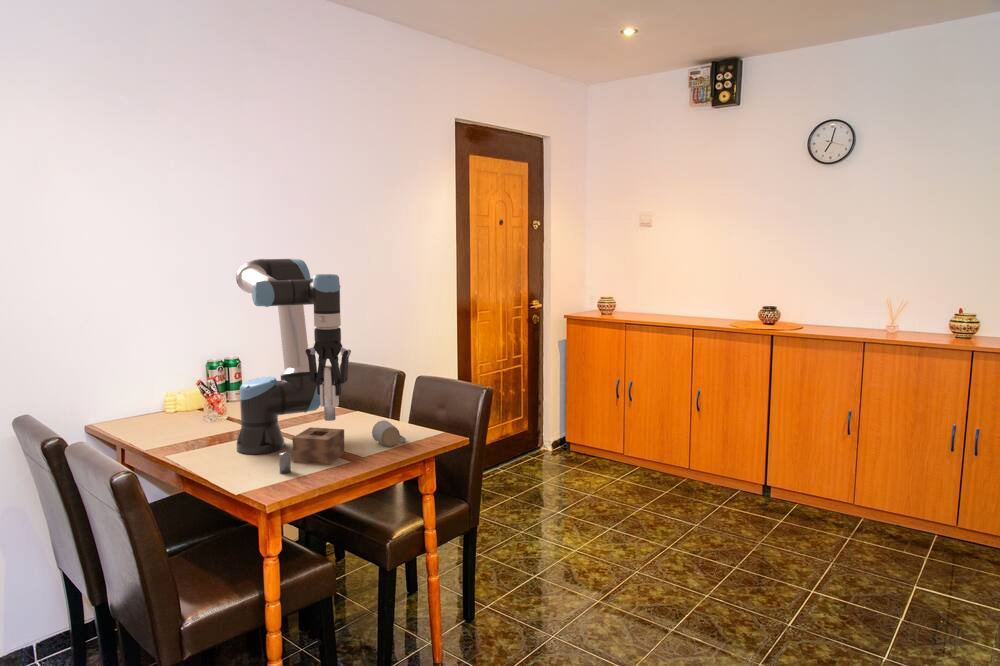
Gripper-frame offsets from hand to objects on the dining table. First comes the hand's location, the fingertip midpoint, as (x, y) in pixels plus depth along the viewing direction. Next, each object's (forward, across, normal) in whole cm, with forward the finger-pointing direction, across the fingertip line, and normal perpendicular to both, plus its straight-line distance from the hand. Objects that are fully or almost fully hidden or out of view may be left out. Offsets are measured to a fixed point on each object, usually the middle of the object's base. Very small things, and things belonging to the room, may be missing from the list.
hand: (329, 405), depth 198 cm
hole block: (+21, -10, +13) cm, 26 cm away
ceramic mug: (+21, +7, +32) cm, 39 cm away
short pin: (+21, -14, -2) cm, 25 cm away
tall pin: (+4, 0, 0) cm, 4 cm away
